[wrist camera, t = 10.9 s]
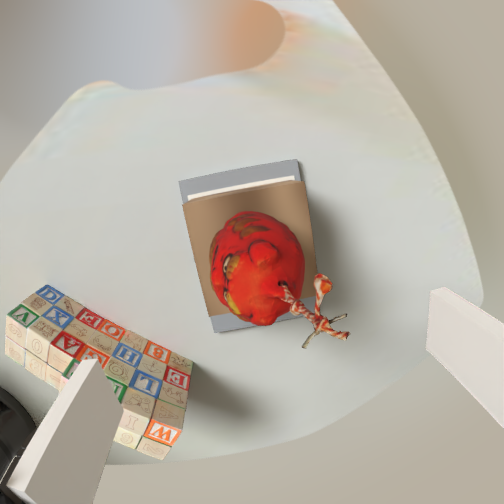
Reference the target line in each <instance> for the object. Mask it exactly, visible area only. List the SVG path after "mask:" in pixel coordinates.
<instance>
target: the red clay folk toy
mask: <svg viewBox="0 0 504 504" xmlns="http://www.w3.org/2000/svg"><path fill="white" fill-rule="evenodd" d="M209 263H210V282H211V287H212V290H213V291H214V292H215V293H216V295H217V297H218V299H219V301H220V302H221V303H222V304H223V305H225V306H226V307H228V308H229V310H230V312H231V313H232V314H233V315H236V316H237V317H238V318H239V319H241V320H243V321H245V322H251V323H252V324H255V325H258V326H267V325H272V324H273V323H274V322H275V321H276V319H277V317H279V316H281V315H283V314H285V313H287V312H289V311H290V312H291V313H292V314H293V315H294V316H296V315H300V314H303V315H304V316H305V317H306V318H307V319H308V320H309V321H311V322H312V323H313V325H314V329H315V331H314V332H313V333H312V334H311V335H310V336H308V338H307V340H306V341H305V343H304V344H303V346H302V348H307V345H308V343H309V341H310V340H311V339H312V338H313V337H314V336H315V335H318V334H319V333H320V332H323V331H324V332H326V333H328V334H330V335H331V336H333V337H336V338H338V339H341V340H344V341H346V339H347V337H348V336H349V335H350V332H341V331H340V332H337V331H335V330H333V329H332V328H331V326H330V325H329V324H331V323H333V322H335V321H337V320H340V319H342V318H345V317H347V314H343V315H341V316H338V317H335V318H334V319H332V320H329V321H328V319H327V317H324V316H322V315H321V314H320V304H321V302H322V299H323V297H324V295H325V294H326V293H328V292H330V291H331V290H332V283H331V281H330V280H329V278H328V277H326V276H325V275H323V274H320V273H319V274H317V275H316V276H315V277H314V285H313V286H314V288H315V290H316V300H315V307H314V310H315V313H312V312H311V311H310V310H308V309H307V308H306V307H304V306H305V305H304V304H303V302H302V301H300V300H299V299H300V296H301V293H302V287H303V283H304V273H305V258H304V254H303V250H302V248H301V245H300V243H299V241H298V239H297V238H296V236H295V234H294V233H293V232H292V231H291V230H290V229H289V228H288V226H287V225H285V224H284V223H282V222H280V221H278V220H276V219H275V218H274V217H272V216H270V215H267V214H264V213H261V212H254V211H243V212H239V213H237V214H236V215H234V216H233V217H232V218H231V219H229V220H227V221H226V223H225V225H224V228H223V229H221V230H220V231H218V232H217V233H216V234H215V236H214V238H213V239H212V243H211V245H210V251H209Z"/></svg>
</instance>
